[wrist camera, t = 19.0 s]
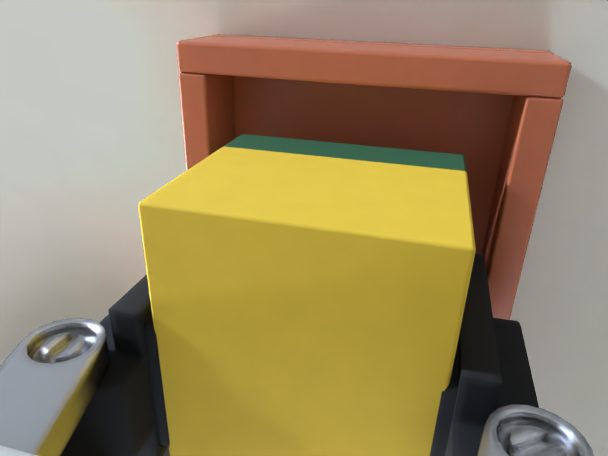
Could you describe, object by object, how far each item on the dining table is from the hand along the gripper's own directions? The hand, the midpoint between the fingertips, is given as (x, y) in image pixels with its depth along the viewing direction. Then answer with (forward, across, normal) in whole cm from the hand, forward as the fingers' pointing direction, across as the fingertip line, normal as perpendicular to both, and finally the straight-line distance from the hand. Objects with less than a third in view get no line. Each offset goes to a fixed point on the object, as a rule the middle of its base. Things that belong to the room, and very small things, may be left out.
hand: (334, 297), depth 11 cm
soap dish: (+2, 0, 0) cm, 2 cm away
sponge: (0, 0, 0) cm, 0 cm away
